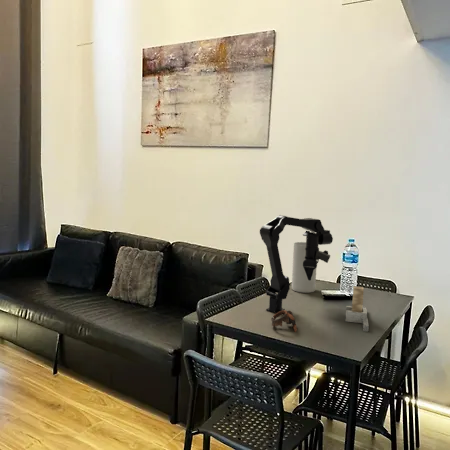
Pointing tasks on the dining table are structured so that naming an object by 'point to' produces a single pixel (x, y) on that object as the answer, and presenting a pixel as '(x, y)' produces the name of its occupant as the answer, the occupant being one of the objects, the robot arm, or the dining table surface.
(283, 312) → the brown curled piece
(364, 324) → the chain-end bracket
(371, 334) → the dining table surface
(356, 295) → the beech pin
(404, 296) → the dining table surface
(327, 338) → the dining table surface
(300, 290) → the cylinder vase
